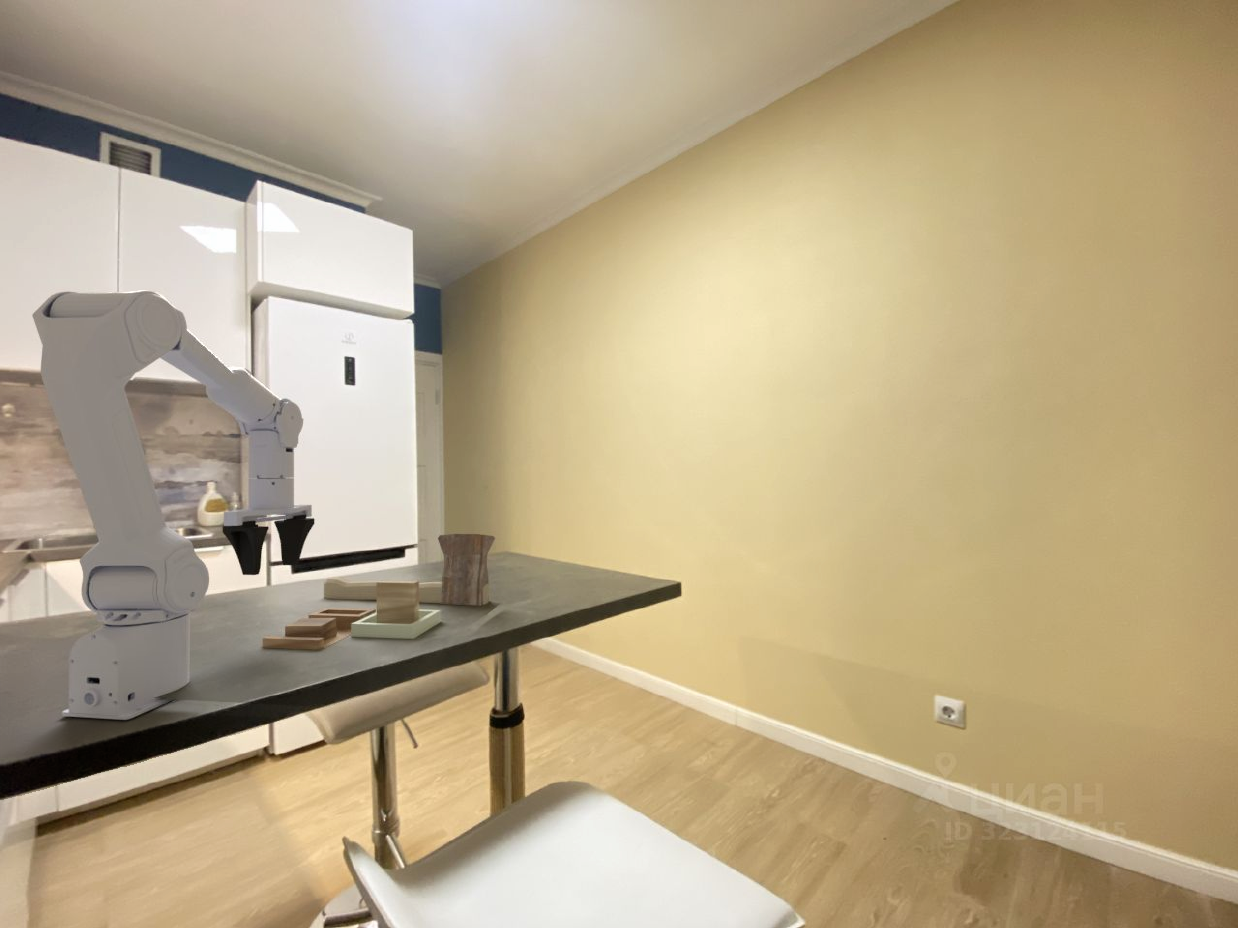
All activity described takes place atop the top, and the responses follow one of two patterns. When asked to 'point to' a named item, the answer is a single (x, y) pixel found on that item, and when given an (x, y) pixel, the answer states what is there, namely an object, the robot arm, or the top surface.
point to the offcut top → (310, 626)
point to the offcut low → (325, 635)
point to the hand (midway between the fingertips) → (271, 569)
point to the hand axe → (459, 578)
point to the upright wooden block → (397, 602)
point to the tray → (395, 626)
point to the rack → (343, 630)
